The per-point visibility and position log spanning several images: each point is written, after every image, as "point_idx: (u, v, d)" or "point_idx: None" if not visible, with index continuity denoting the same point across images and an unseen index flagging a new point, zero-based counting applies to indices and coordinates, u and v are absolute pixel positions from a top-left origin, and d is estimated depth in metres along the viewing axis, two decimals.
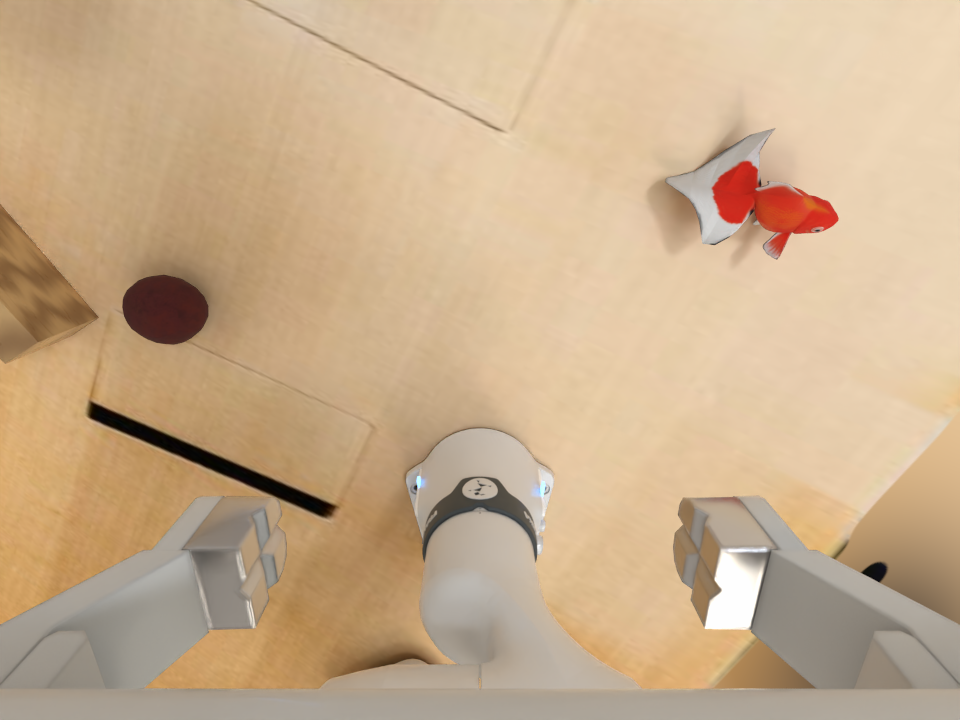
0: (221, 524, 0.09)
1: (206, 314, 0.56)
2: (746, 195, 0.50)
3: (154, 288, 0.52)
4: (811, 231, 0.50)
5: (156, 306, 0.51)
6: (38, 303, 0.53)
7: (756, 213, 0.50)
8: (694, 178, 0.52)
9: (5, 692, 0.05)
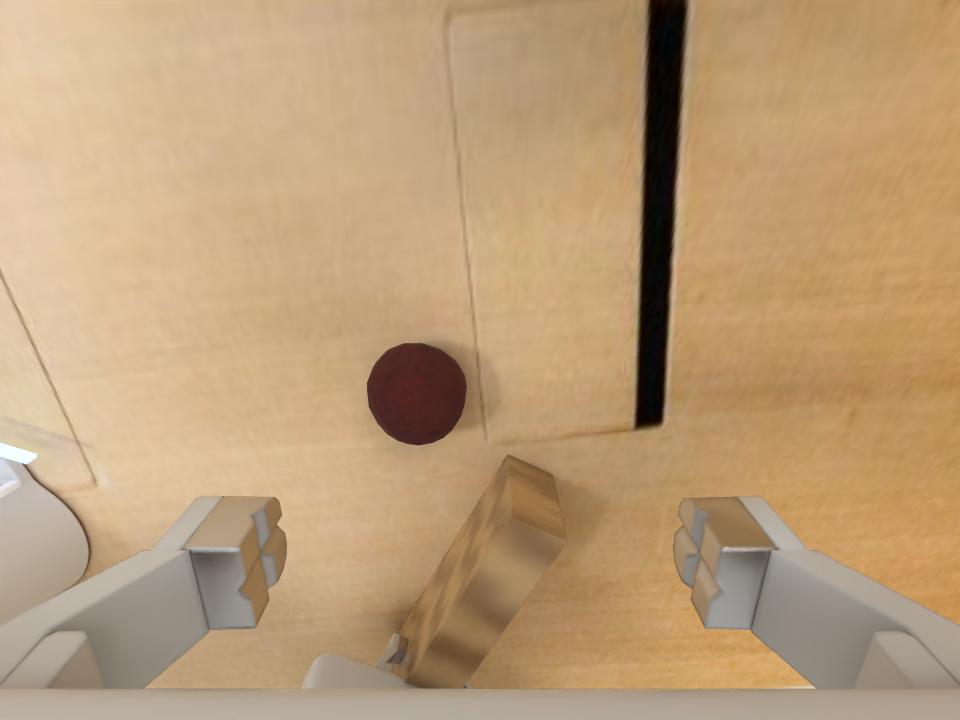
0: (221, 524, 0.09)
1: (398, 346, 0.39)
2: None
3: (378, 418, 0.38)
4: None
5: (389, 408, 0.36)
6: (489, 522, 0.42)
7: None
8: None
9: (5, 692, 0.05)
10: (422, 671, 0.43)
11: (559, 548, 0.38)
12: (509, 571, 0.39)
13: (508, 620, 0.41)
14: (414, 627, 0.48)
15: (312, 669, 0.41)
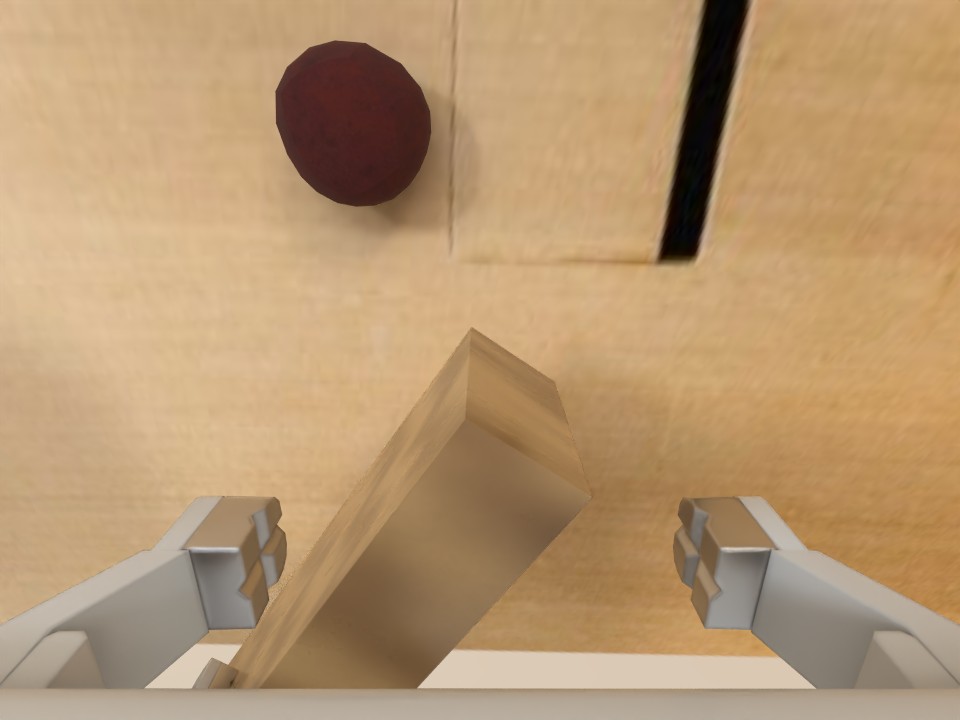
0: (221, 524, 0.09)
1: None
2: None
3: (287, 139, 0.24)
4: None
5: (304, 111, 0.23)
6: (413, 446, 0.19)
7: None
8: None
9: (6, 692, 0.05)
10: None
11: (570, 513, 0.16)
12: (442, 556, 0.16)
13: (428, 669, 0.18)
14: (251, 651, 0.25)
15: None
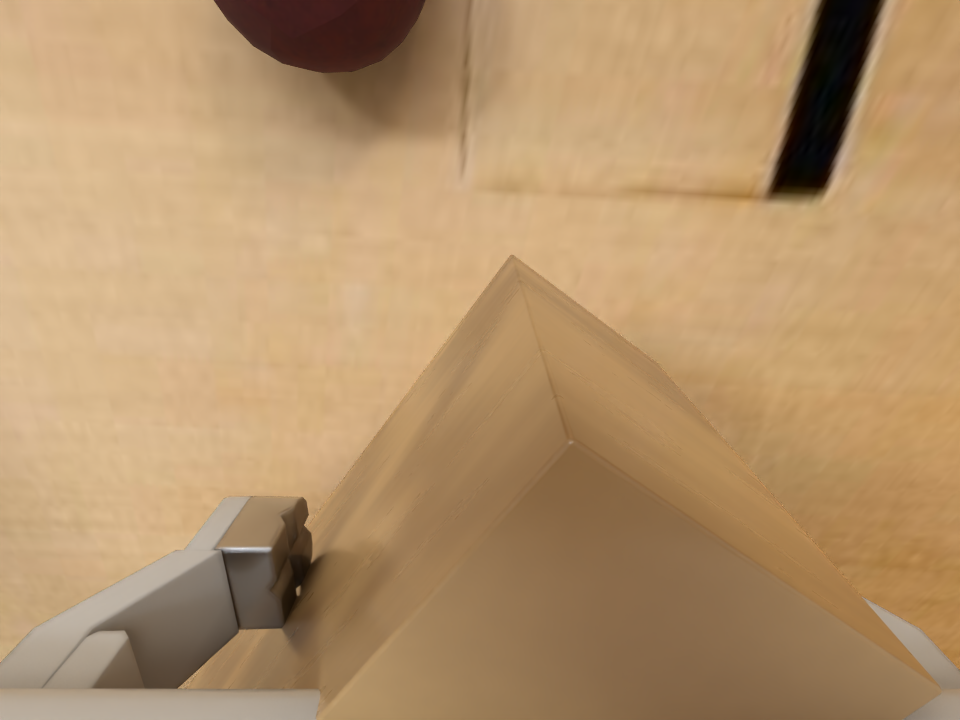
0: (251, 524, 0.09)
1: None
2: None
3: None
4: None
5: None
6: (393, 489, 0.08)
7: None
8: None
9: (5, 692, 0.05)
10: None
11: None
12: None
13: None
14: None
15: None
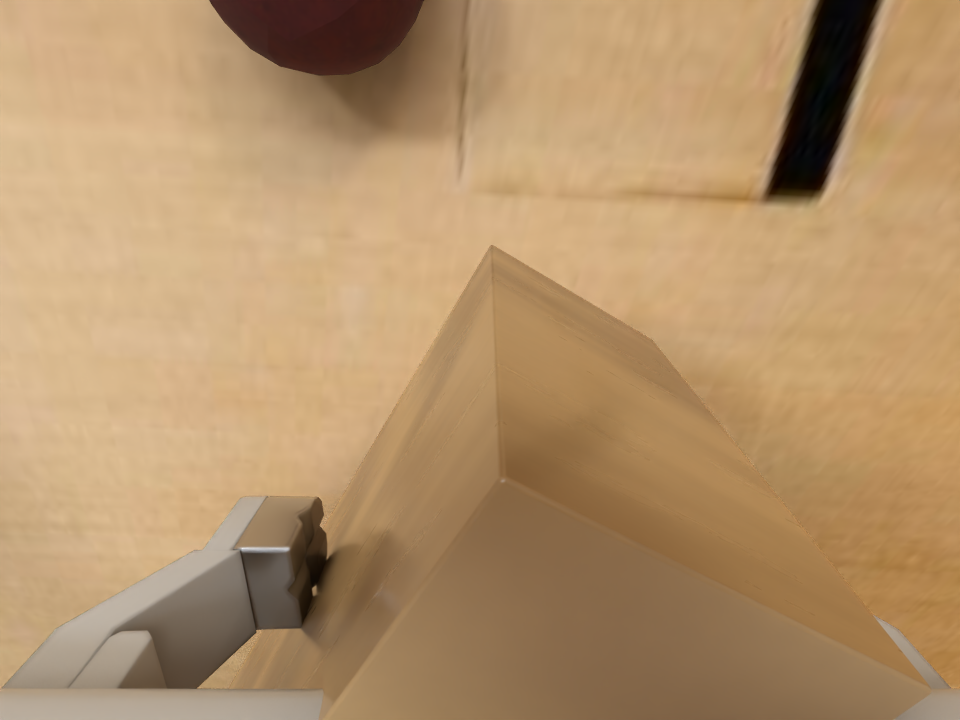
0: (268, 524, 0.09)
1: None
2: None
3: None
4: None
5: None
6: (379, 503, 0.08)
7: None
8: None
9: (5, 692, 0.05)
10: None
11: None
12: None
13: None
14: None
15: None
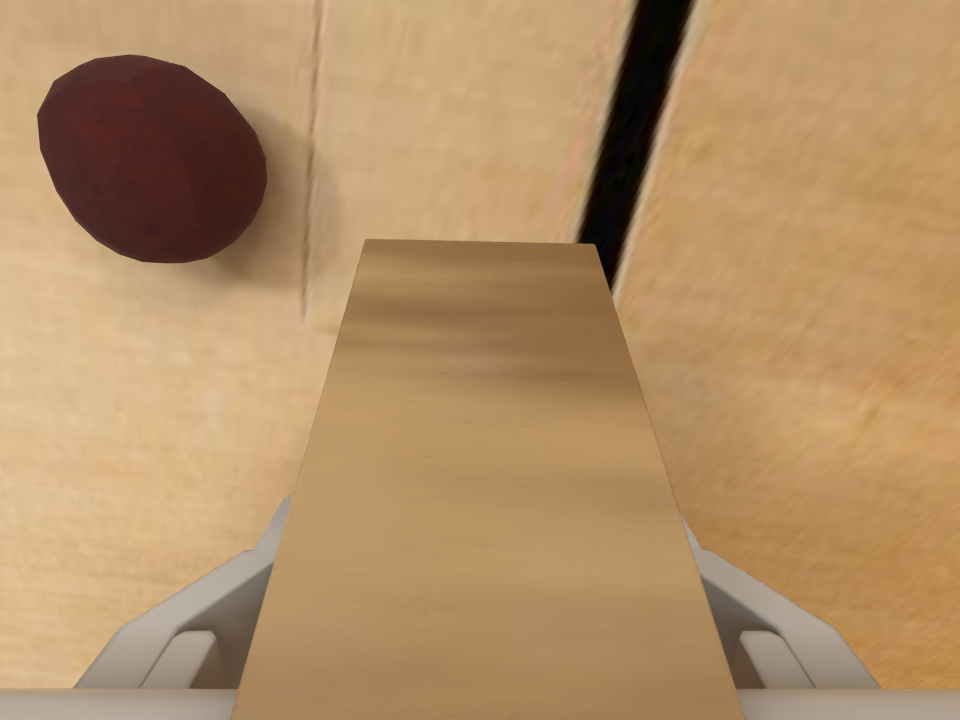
0: None
1: None
2: None
3: (50, 173, 0.19)
4: None
5: (59, 144, 0.17)
6: None
7: None
8: None
9: (5, 692, 0.05)
10: None
11: None
12: None
13: None
14: None
15: None
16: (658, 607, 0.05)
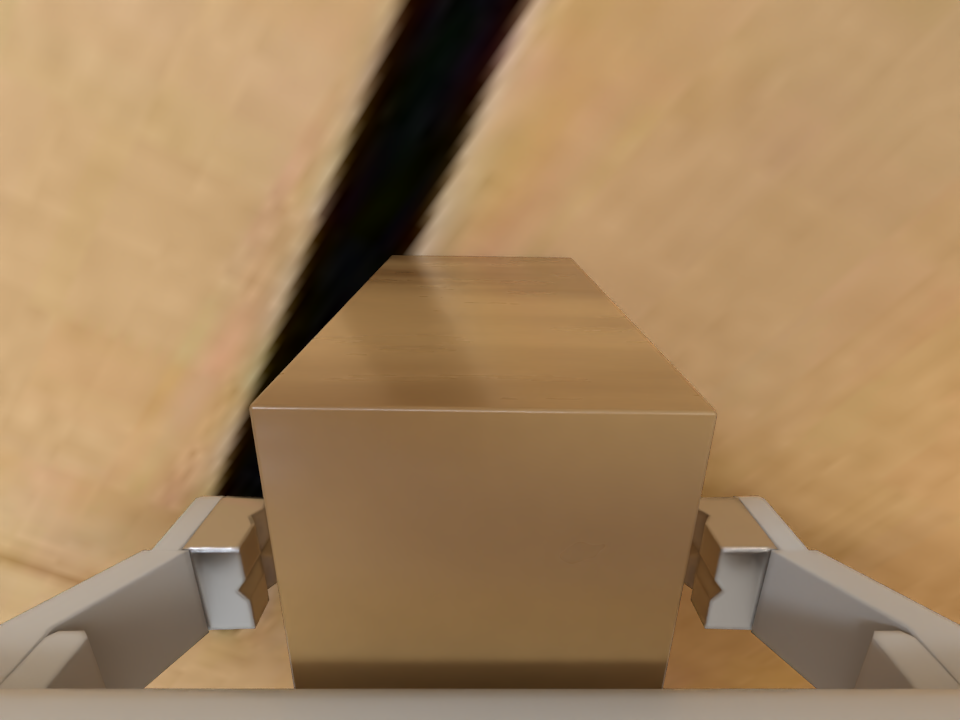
0: (221, 524, 0.09)
1: None
2: None
3: None
4: None
5: None
6: None
7: None
8: None
9: (5, 692, 0.05)
10: None
11: (686, 484, 0.05)
12: None
13: None
14: None
15: None
16: (619, 351, 0.07)
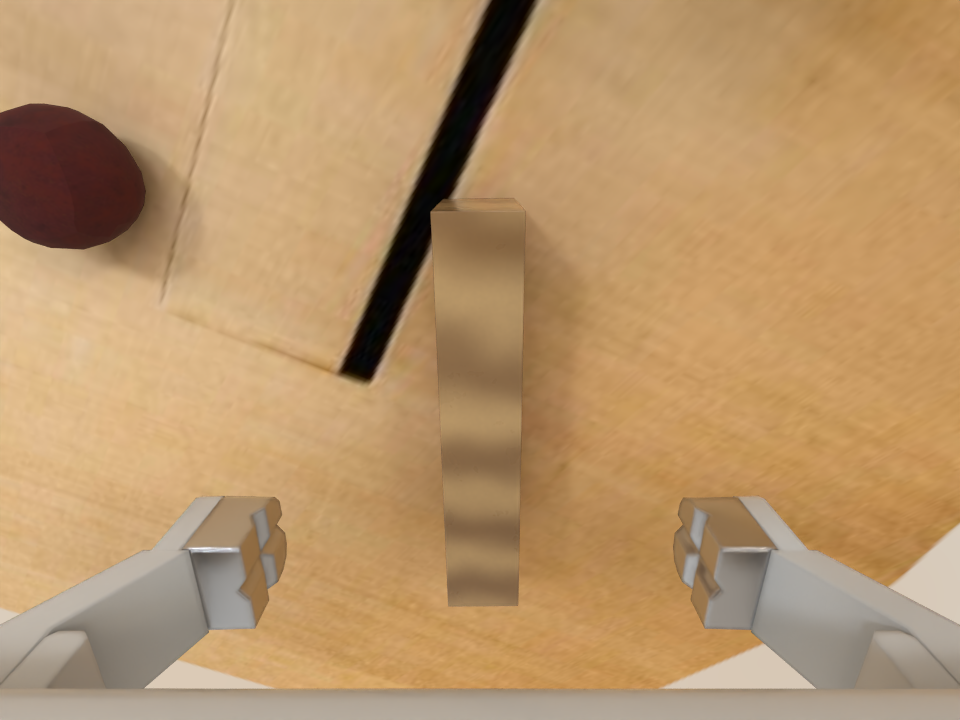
0: (221, 524, 0.09)
1: None
2: None
3: None
4: None
5: None
6: None
7: None
8: None
9: (5, 692, 0.05)
10: (456, 504, 0.31)
11: (521, 228, 0.25)
12: (475, 299, 0.27)
13: (519, 377, 0.28)
14: None
15: None
16: (512, 207, 0.27)
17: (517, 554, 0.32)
